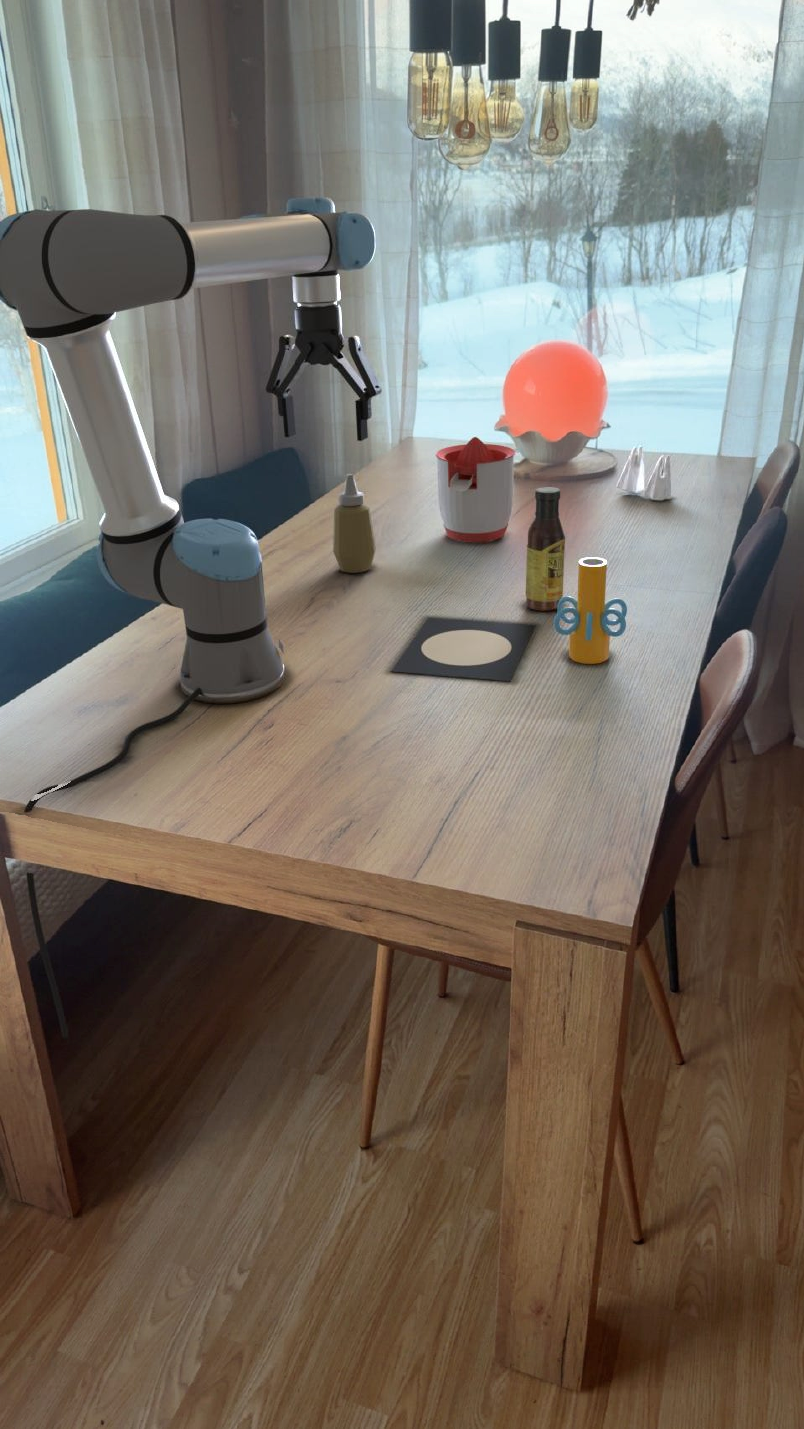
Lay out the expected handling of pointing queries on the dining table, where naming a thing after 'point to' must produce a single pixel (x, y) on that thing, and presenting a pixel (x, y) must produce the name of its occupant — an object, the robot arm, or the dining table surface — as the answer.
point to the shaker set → (634, 477)
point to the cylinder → (590, 615)
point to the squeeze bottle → (353, 530)
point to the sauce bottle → (545, 553)
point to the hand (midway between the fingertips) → (326, 437)
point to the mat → (466, 649)
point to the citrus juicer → (475, 490)
